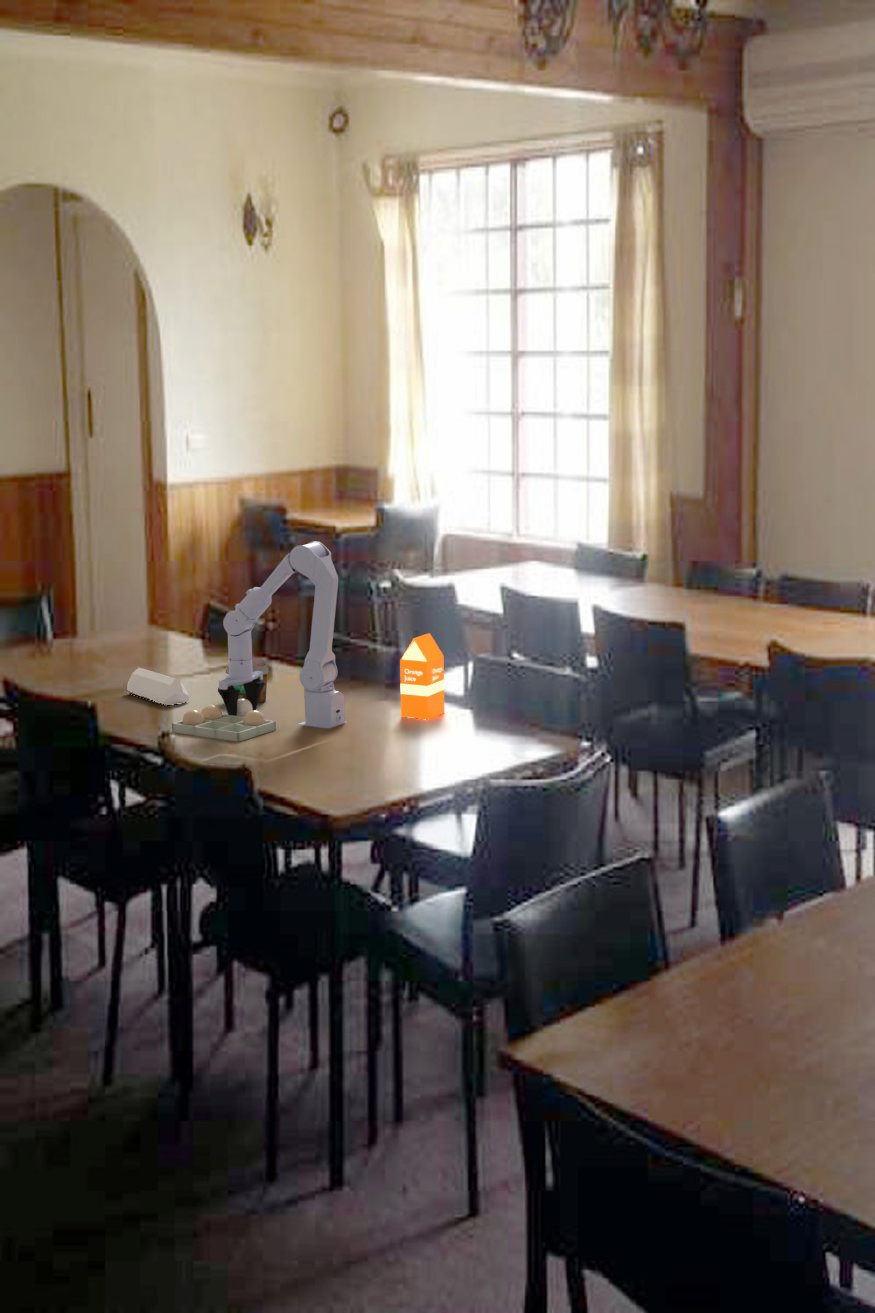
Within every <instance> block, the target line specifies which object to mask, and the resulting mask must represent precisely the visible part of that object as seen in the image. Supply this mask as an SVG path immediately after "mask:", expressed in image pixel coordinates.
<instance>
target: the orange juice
mask: <svg viewBox="0 0 875 1313" xmlns="http://www.w3.org/2000/svg"><path fill="white" fill-rule="evenodd" d="M444 657H445V656H444V654H443V652H442V651H441V650H440V648H439V646H438V644H437V642H436V641H435V639H434V638H433V636H432V635H431V633H430V632H429V633H425V634H423V635H420V636H417V637H414V638H412V641H411V643H409V646H408V647H407V649H406V650H405V652H404V654H403V655H402V657H401V658H400V659H399V668H400V670H399V671H400V673H399V674H400V675H399V676H400V685H399V686H400V689H399V690H400V717H414V718H420V719H426V720H425V721H430V720H432V719H434V718H433V717H435V718H437V717H439V716H441V715H444V714H445V671H444V670H445V669H444V666H445V665H444V662H445V661H444ZM443 713H444V714H443ZM440 714H441V715H440ZM431 718H432V719H431ZM420 719H419V720H420ZM429 719H430V720H429Z"/></svg>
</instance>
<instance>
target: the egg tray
mask: <svg viewBox="0 0 875 1313" xmlns="http://www.w3.org/2000/svg"><path fill="white" fill-rule="evenodd" d="M276 730H277V722H276V721H275V720H269V719H265V723H264V724H263V725H260V726H256V727H255V726H248V725H244V717H240V716H233V715H228V714H225V713H222V717H221V718H220V719H216V720H206V719H204V723H203V724H200V725H196V726H191V725H184V724H183V719H182V720H180V721H179V720H178V721H176V722H173V723H172V722H171V731H172V733H176V734H182V735H183V734H185V735H191V736H197V737H203V738H204V737H205V738H212V739H216V740H217V739H218V740H223V741H224V740H225V741H232V742H238V743H239V742H242V741H245V740H248V739H252V738H255V737H257V736H261V735H264V734H267V733H270V732H274V731H276Z"/></svg>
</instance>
